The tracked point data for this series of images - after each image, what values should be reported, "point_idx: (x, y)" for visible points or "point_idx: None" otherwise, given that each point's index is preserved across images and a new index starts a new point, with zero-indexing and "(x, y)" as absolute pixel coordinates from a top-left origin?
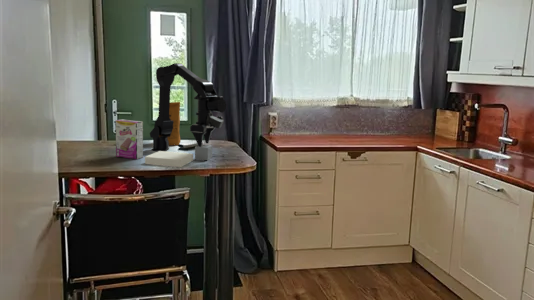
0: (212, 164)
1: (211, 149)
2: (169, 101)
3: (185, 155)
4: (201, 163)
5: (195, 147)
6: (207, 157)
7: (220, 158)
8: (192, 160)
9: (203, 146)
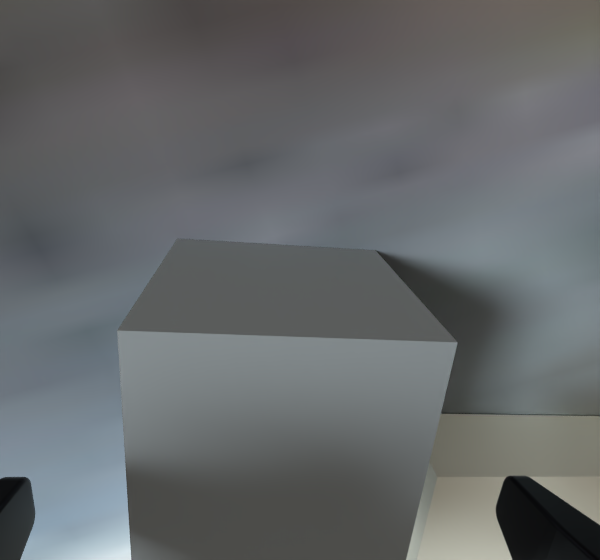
0: (596, 122)
1: (200, 294)
2: None
3: None
4: (549, 281)
5: (398, 552)
6: (388, 270)
7: (140, 100)
8: None
9: (339, 461)
